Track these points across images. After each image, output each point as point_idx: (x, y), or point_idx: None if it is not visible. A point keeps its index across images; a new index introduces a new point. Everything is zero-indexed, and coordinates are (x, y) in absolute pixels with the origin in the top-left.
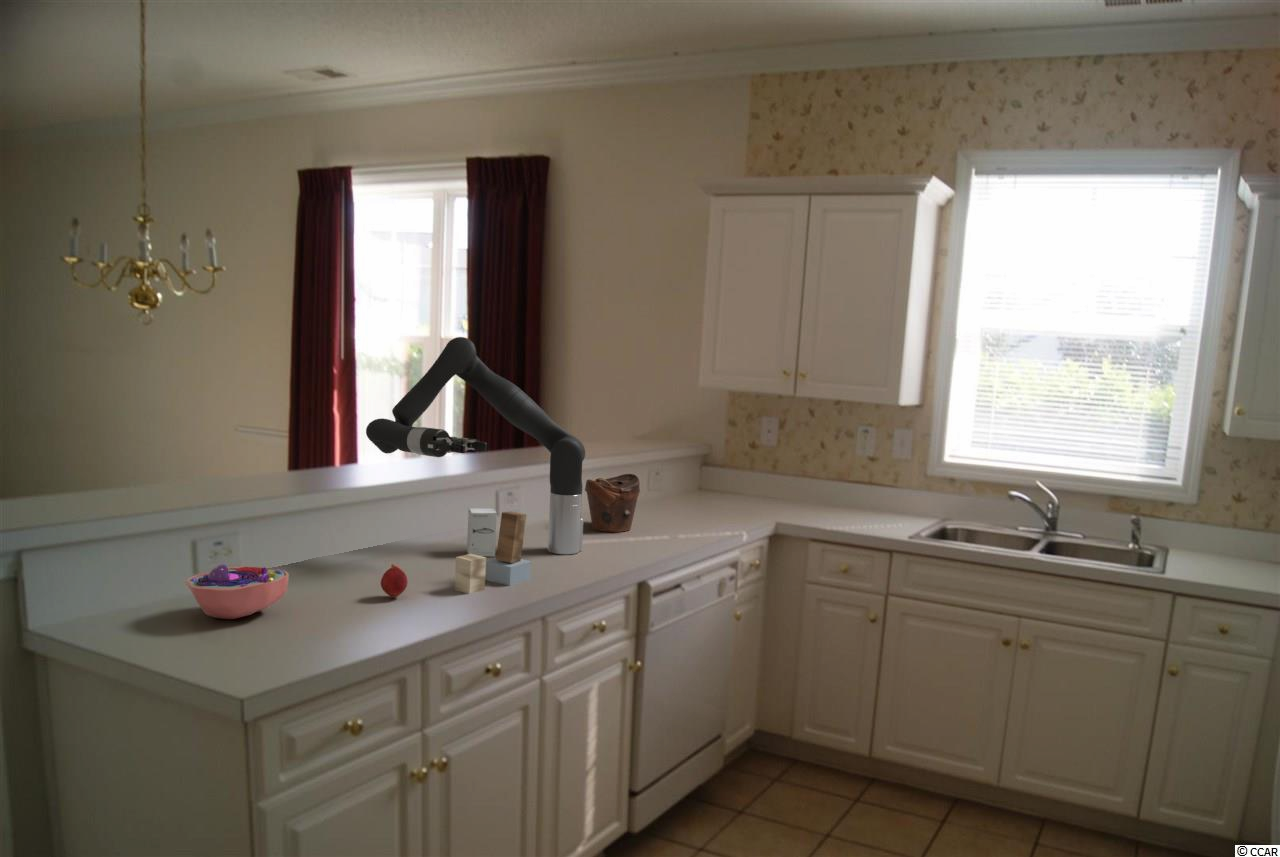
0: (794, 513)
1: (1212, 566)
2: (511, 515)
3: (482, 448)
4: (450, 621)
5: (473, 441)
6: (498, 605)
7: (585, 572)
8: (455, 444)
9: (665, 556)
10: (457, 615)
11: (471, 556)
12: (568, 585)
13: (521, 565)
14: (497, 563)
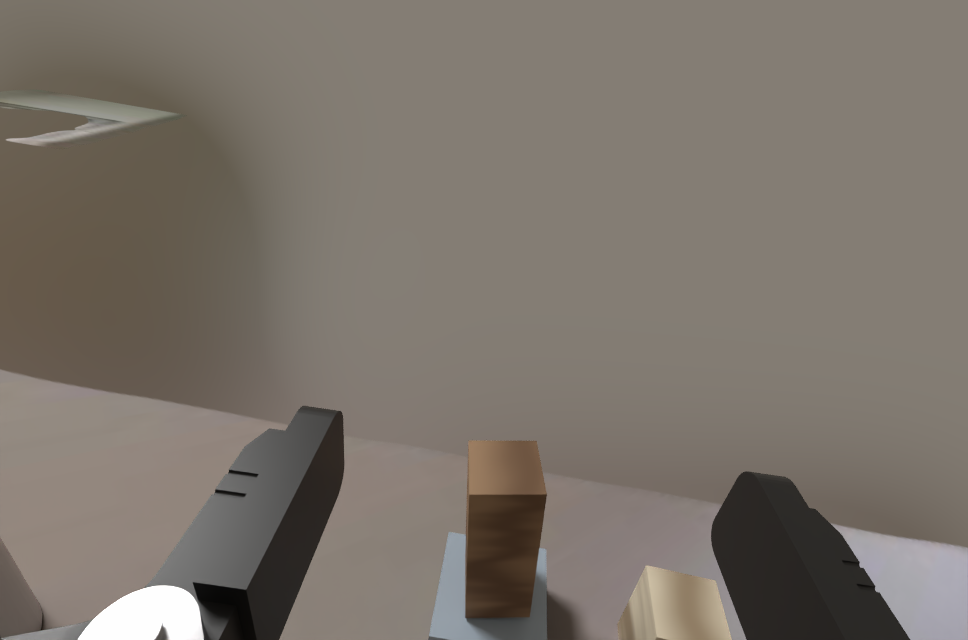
0: None
1: (81, 106)
2: (539, 461)
3: (329, 494)
4: None
5: (204, 635)
6: (676, 526)
7: None
8: (865, 616)
9: (55, 386)
10: None
11: (679, 612)
12: (440, 470)
13: None
14: (540, 605)
